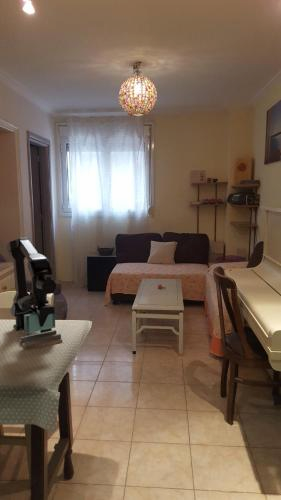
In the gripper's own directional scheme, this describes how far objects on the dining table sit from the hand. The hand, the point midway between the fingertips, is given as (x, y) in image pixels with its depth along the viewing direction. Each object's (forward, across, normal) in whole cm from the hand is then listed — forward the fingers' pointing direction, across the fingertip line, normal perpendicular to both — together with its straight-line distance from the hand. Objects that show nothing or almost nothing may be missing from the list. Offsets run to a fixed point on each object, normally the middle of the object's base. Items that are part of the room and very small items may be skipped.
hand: (40, 325), depth 150 cm
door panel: (+2, 0, 0) cm, 2 cm away
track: (+7, 0, 0) cm, 7 cm away
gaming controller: (+8, -10, +3) cm, 13 cm away
